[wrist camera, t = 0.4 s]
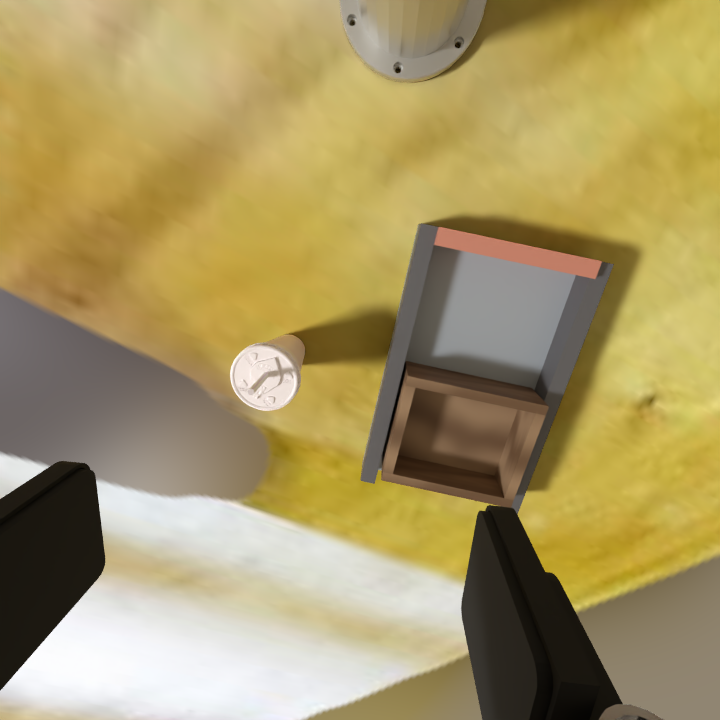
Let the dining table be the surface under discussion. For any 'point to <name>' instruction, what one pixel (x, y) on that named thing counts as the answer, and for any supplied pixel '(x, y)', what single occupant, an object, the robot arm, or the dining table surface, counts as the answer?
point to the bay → (489, 322)
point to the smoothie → (268, 372)
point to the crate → (461, 434)
